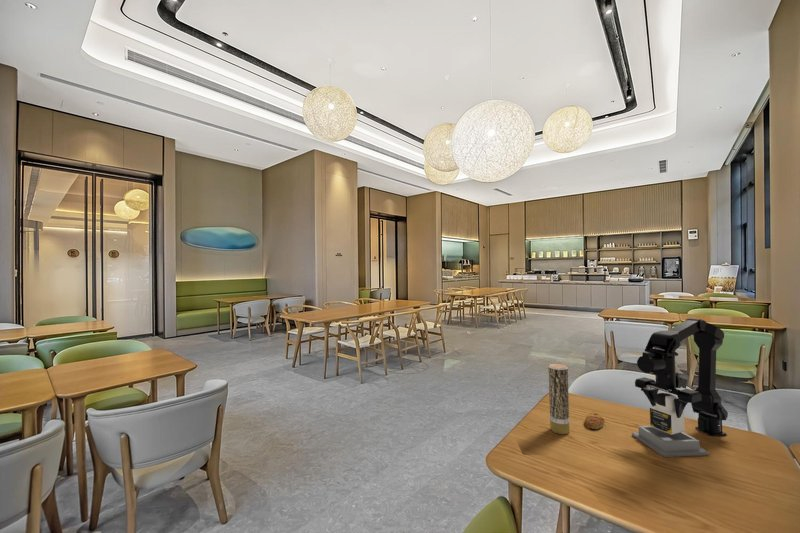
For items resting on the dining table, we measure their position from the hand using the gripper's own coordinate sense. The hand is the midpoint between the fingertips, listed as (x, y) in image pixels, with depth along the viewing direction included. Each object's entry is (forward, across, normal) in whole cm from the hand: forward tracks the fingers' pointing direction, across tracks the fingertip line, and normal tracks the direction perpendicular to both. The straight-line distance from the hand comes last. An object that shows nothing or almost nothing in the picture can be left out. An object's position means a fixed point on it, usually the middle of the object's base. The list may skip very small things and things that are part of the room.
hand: (667, 413), depth 122 cm
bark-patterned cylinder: (+11, +23, +26) cm, 36 cm away
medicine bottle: (+6, 0, 0) cm, 6 cm away
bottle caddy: (+11, 0, 0) cm, 11 cm away
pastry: (+11, +22, +9) cm, 26 cm away
